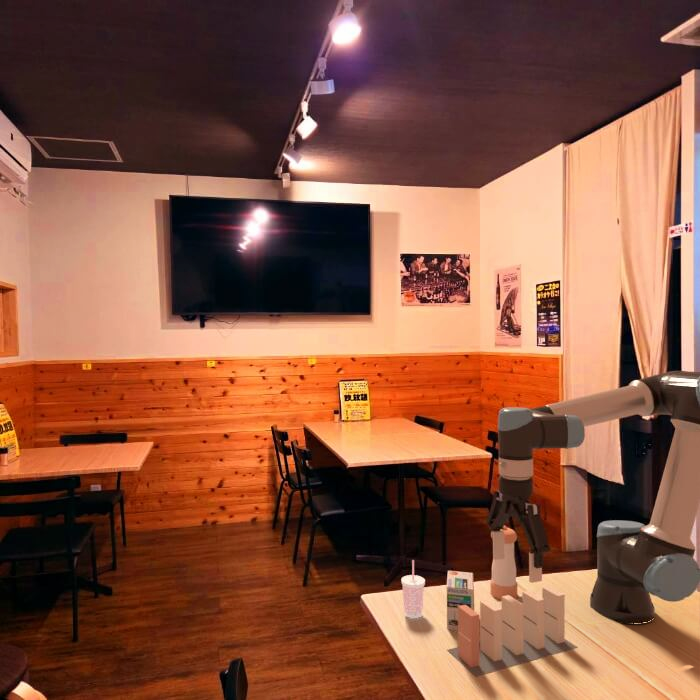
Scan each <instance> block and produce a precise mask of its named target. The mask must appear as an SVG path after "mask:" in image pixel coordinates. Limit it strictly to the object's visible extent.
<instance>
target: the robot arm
mask: <svg viewBox="0 0 700 700" xmlns="http://www.w3.org/2000/svg"><path fill="white" fill-rule="evenodd" d="M635 415H639V416H640V417H648V416H655V415H666V416H667V415H668V416H671V417H670V420H669V421H670V422H671V423H672V425H673V427H674V428H675V429H674V432H673V433H674V434H673V437H672V442H671V443H670V444H671V445H670V448H669V451H668V455H667V458H666V463H665V467H664V470H663V472H662V473H663V474H662V477H661V481H660V485H659V489H658V491H657V496H656V499H655V503H654V507H653V510H652V514H651V517H650V521H649V523H648V524H647V525H645V524H644V523H641V522H638V521H633V520H618V519H617V520H616V519H615V520H612V519H610V520H604V521H602V522H600V523H599V524H598V526H597V533H596V539H597V543H596V544H597V545H596V546H597V551H596V552H597V553H596V554H597V556H596V557H597V558H596V559H597V562H596V563H597V565H596V566H597V567H596V568H597V569H596V570H597V577H596V580H595V583H594V585H593V588H592V591H591V593H590V597H589V600H590V601H589V606H590V608H591V609H592V610H594V611H595V612H596V613H598V614H599V615H601V616H603V617H605V618H608V619H611V620H613V621H615V622H616V623H620V622H622V623H621V624H625V623H633V624H632V625H635V624H634V623H643V622H648V621H650V620H652V619H653V618H654V616H655V613H656V612H655V611H656V609H655V606H654V604H653V602H652V597H651V596H654V597H655V596H656V597H657V598H659V599H661V600H662V601H666V602H670V603H674V602H681V601H683V600H685V598H689V597H690V596H691V595H693V593H695V592H696V590H697V589H698V587H699V586H700V568H699V567H700V566H699V564H698V562H697V560H695V558H694V556H695V552H696V546H695V544H694V542H693V541H692V539H691V537H692V536H691V535H692V533H693V529H694V525H695V521H696V518H697V513H698V510H699V507H700V371H685V370H671V371H667V372H662V373H659V374H654V375H651V376H646V377H644V378H639V379H634V380H632V381H631V382H630V383H628V385H626V386H622V387H618V388H614V389H610V390H606V391H600V392H596V393H592V394H589V395H585V396H579V397H575V398H571V399H567V400H562V401H559V402H555V403H550V404H549V403H548V404H546V405H541V406H537V407H533V408H532V407H531V408H529V407H520V406H519V407H516V406H515V407H514V406H512V407H511V406H510V407H509V406H507V407H504V408H501V409H500V410H499V412H498V417H497V438H498V442H497V443H498V445H497V446H498V474H499V477H497V478H498V490H494V491H493V500H492V503H491V506H490V510H489V512H488V515H487V519H486V525H487V526H488V527H490V530H491V532H492V536H493V537H491V541H492V560H493V559H494V560H497V559H504V558H505V555H504V531H503V530H501V529H504V527H503V526H506V524H507V522H508V520H510V517H511V518H513V519H514V520H516V521H517V523H518V524H520V526H521V528H522V531H523V533H524V535H525V537H526V540H527V542H528V545H529V547H530V550H529V551H528V571H529V572H528V576H529V577H528V581H529V583H530V584H531V583H539V582H542V581H543V567H544V561H543V560H544V553H549V552H550V551H551V547H550V542H549V539H548V536H547V533H546V529H545V525H544V523H543V518H542V516H541V506H540V505H539V503H534V504H532V503H531V502H530V497H531V496H532V495H533V494H534V480H533V477H532V476H533V475H534V450H546V449H547V450H554V449H555V450H557V449H559V450H560V449H565V450H568V449H572V448H578V447H579V448H580V447H581V445H582V444H583V442H584V441H585V436H586V435H585V432H586V430H585V427H589V426H594V425H598V424H601V423H606V422H607V423H608V422H610V421H615V420H619V419H623V418H628V417H632V416H635ZM500 530H501V531H500ZM654 619H655V618H654Z"/></svg>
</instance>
